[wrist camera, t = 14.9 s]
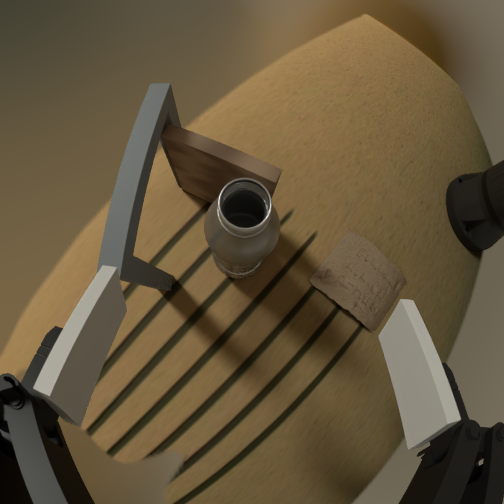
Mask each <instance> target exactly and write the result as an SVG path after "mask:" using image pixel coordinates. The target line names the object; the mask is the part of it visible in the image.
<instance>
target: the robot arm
mask: <svg viewBox="0 0 504 504" xmlns="http://www.w3.org/2000/svg"><path fill="white" fill-rule="evenodd" d="M446 205H447V212H448V216H449V219H450V222H451V225H452V227H453V229H454V231H455V233H456V235H457V237H458V238H459V240H460V241H461V242H462V243H463V244H464V245H465V246H466V247H467V248H469V249H470V250H472V251H482V250H486V249H488V248H490V247H491V246H493V244H495V243H496V242H497V241H498V240H499V239H500V238H502V236H504V160H503V161H501V162H499V163H498V164H496V165H494V166H493V167H491V168H490V169H488V170H486V171H484V172H479V173H470V174H463V175H460V176H459V177H457V178H455V179H454V180H453V181H451V183H450V184H449V186H448V189H447V194H446ZM126 312H127V308H126V304H125V300H124V296H123V292H122V287H121V283H120V278H119V274H118V269H117V267H112V266H105V265H103V266H102V267H101V269H100V270H99V272H98V273H97V274H96V276H95V278H94V279H93V281H92V282H91V284H90V285H89V287H88V288H87V290H86V291H85V293H84V295H83V296H82V298H81V299H80V301H79V303H78V304H77V306H76V308H75V309H74V311H73V313H72V314H71V316H70V318H69V319H68V321H67V323H66V325H65V326H64V328H60V327H57V326H55V327H54V328H53V329H52V330H51V331H49V332H48V333H47V334H46V336H45V338H44V340H43V341H42V343H41V346H40V347H39V349H38V350H37V354H35V356H34V358H33V360H32V362H31V364H30V366H29V368H28V370H27V372H26V374H25V376H24V378H23V380H22V381H21V383H20V382H19V381H18V380H17V379H16V378H15V377H14V376H13V375H11V374H9V373H7V374H2V375H0V504H95V503H94V501H93V500H92V498H91V496H90V494H89V492H88V490H87V488H86V486H85V485H84V482H83V480H82V478H81V476H80V474H79V472H78V470H77V468H76V465H75V463H74V461H73V459H72V456H71V454H70V452H69V449H68V447H67V444H66V441H65V439H64V436H63V434H62V430H61V428H60V425H59V423H58V421H57V420H58V417H59V416H60V417H61V418H62V419H63V420H65V421H66V422H69V423H71V424H74V425H76V426H78V427H81V424H82V421H83V418H84V415H85V413H86V410H87V407H88V404H89V401H90V398H91V396H92V393H93V390H94V388H95V385H96V382H97V380H98V377H99V375H100V372H101V369H102V367H103V364H104V362H105V360H106V357H107V355H108V352H109V350H110V348H111V345H112V343H113V341H114V338H115V336H116V334H117V331H118V329H119V327H120V325H121V322H122V320H123V318H124V316H125V314H126ZM378 337H379V340H380V343H381V346H382V349H383V353H384V356H385V359H386V363H387V366H388V369H389V373H390V376H391V380H392V384H393V387H394V391H395V395H396V399H397V403H398V407H399V411H400V415H401V419H402V424H403V428H404V433H405V438H406V443H407V447H408V450H410V449H414V448H418V447H421V446H423V445H425V444H426V443H428V442H430V446H429V447H427V448H425V449H424V450H422V451H421V452H419V453H418V455H417V456H421V455H422V454H424V453H425V454H424V456H422V457H421V459H422V461H421V463H420V465H419V467H418V469H417V471H416V473H415V475H414V477H413V479H412V481H411V483H410V485H409V486H408V489H407V490H406V492H405V494H404V495H403V497H402V499H401V501H400V502H399V504H502V502H503V497H504V424H503V423H502V422H498V423H497V424H495V425H494V426H493V427H491V428H487V427H480V426H479V424H478V423H477V422H476V421H474V420H470V419H469V417H468V415H467V412H466V409H465V406H464V403H463V400H462V397H461V394H460V391H459V390H458V386H457V384H456V383H455V378H454V376H453V373H452V371H451V369H450V368H449V367H448V365H447V364H446V363H441V361H440V359H439V356H438V354H437V351H436V349H435V347H434V344H433V342H432V340H431V338H430V335H429V333H428V331H427V329H426V326H425V324H424V322H423V320H422V318H421V316H420V314H419V312H418V309H417V307H416V305H415V303H414V301H413V300H406V299H400V301H399V303H398V305H397V307H396V308H395V310H394V312H393V313H392V315H391V317H390V318H389V320H388V322H387V323H386V325H385V327H384V328H383V330H382V331H381V333H380V335H379V336H378ZM482 459H484V461H483V464H482V465H480V466H479V464H478V462H479V461H480V460H482Z"/></svg>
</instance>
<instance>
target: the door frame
mask: <svg viewBox="0 0 504 504" xmlns="http://www.w3.org/2000/svg"><path fill="white" fill-rule="evenodd" d="M164 123H165V124H166V125H167V127H168V125H169V124H172V125H175V126H178V127H180V128H181V124H180V121H179V116H178V113H177V108H176V104H175V100H174V96H173V92H172V88H171V84H170V83H158V84H157V83H156V84H151V85H150V87H149V89H148V92H147V94H146V96H145V99H144V101H143V104H142V106H141V109H140V111H139V114H138V117H137V119H136V122H135V125H134V127H133V130H132V133H131V136H130V139H129V142H128V145H127V148H126V151H125V154H124V157H123V160H122V164H121V167H120V170H119V174H118V177H117V181H116V185H115V188H114V192H113V196H112V200H111V204H110V208H109V212H108V217H107V221H106V226H105V231H104V236H103V241H102V246H101V251H100V257H99V263H98V270H97V273H98V272H99V270H100V269H101V267H102V266H103V265H105V266H112V267H117V269H118V274H119V278H120V280H122V281H126V282H130V283H134V284H138V285H143V286H147V287H151V288H155V289H161V290H168V291H171V289H172V281H173V276H172V275H170V274H168V273H166V272H164V271H162V270H160V269H158V268H156V267H154V266H152V265H150V264H148V263H147V262H145V261H143V260H141V259H139V258H137V257H135V256H133V253H134V247H135V241H136V236H137V230H138V225H139V220H140V215H141V211H142V206H143V201H144V197H145V193H146V188H147V184H148V180H149V176H150V172H151V168H152V165H153V161H154V157H155V154H156V150H157V146H158V143H159V140H160V136H161V133H162V130H163V127H164Z"/></svg>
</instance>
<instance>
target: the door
mask: <svg viewBox="0 0 504 504" xmlns="http://www.w3.org/2000/svg"><path fill="white" fill-rule="evenodd" d="M160 142H161V144H162V147H163V149H164V152H165V154H166V157H167V159H168V162H169V164H170V166H171V169H172V171H173V174H174V176H175V178H176V181H177V183H178V185H179V187H180V188H182V189H183V190H184V191H187V192H189V193H191V194H193V195H195V196H198V197H200V198H202V199H204V200H206V201H208V202H211V203H213V202H214V201H215V200H216V199H217V198H218V197H219V195H220V193H221V191H222V189H223V188H224V186H225V185H226V184H228V183H229V182H231V181H232V180H235V179H238V178H251V179H254V180H257V181H258V182H260V183H262V184H263V185H264V186H265V187H266V189H267V190H268V191H269V193H270V196H271V199H272V196H273V193H274V191H275V188H276V185H277V183H278V180H279V177H280V175H281V172H282V169H280V168H277V167H275V166H273V165H271V164H269V163H266V162H264V161H262V160H260V159H257V158H255V157H253V156H251V155H248V154H246V153H244V152H241V151H239V150H237V149H234V148H232V147H229V146H227V145H224V144H222V143H220V142H217V141H215V140H212V139H209V138H207V137H204V136H202V135H199V134H197V133H194V132H191V131H189V130H186V129H183V128H180V127H178V126H175V125H172V124H169V125H168V127H167V125H166V124H165V123H164V127H163V130H162V133H161V136H160Z"/></svg>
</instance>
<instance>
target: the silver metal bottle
mask: <svg viewBox="0 0 504 504" xmlns="http://www.w3.org/2000/svg"><path fill="white" fill-rule="evenodd" d="M204 232H205V237H206V240H207V242H208V245H209V246H210V248H211V249H212V251H213V258H214V261H215V264H216V266H217V267H218V269H219V270H220V271H221V272H222V273H224V274H225V275H227V276H229V277H231V278H236V279H243V278H247V277H249V276H251V275H253V274H254V273H256V272H257V271H258V270H259V268H260V267H261V265H262V263H263V260H264V259H265V258H266V257H267V256H269V254H270V253H271V252H272V251H273V250H274V248H275V246H276V245H277V242H278V239H279V236H280V221H279V217H278V214H277V212H276V210H275V208H274V206H273V204H272V199H271V196H270V193H269V191H268V190H267V189H266V187H265V186H264V185H263V184H262V183H260V182H258V181H257V180H254V179H251V178H238V179H235V180H232V181H231V182H229V183H228V184H226V185H225V186H224V188H223V189H222V191H221V193H220V195H219V197H218V198H217V199H216V200H215V201H214V202H213V203H212V205H211V206H210V207H209V209H208V211H207V214H206V217H205V222H204Z"/></svg>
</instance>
